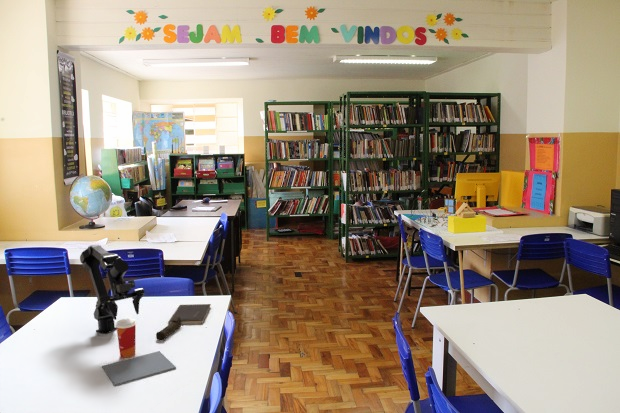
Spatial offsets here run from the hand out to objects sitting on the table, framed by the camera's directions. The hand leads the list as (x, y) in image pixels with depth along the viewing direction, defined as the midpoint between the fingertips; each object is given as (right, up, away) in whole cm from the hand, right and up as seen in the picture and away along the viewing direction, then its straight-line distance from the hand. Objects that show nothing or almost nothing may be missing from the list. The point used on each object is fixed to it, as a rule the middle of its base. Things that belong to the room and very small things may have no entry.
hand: (126, 316), depth 204 cm
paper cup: (+3, -14, -6) cm, 16 cm away
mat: (+11, -15, -17) cm, 26 cm away
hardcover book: (+17, -9, +39) cm, 43 cm away
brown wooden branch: (+13, -11, +18) cm, 24 cm away
